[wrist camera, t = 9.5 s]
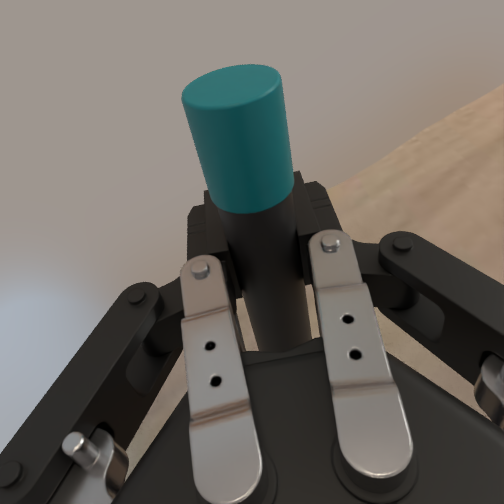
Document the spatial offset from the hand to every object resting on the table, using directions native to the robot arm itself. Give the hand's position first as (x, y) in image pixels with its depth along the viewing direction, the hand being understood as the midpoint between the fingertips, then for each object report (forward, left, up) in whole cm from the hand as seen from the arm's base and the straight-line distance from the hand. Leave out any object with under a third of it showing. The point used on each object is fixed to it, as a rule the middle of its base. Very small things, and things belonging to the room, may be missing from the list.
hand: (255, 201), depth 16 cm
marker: (+2, +2, -11) cm, 11 cm away
